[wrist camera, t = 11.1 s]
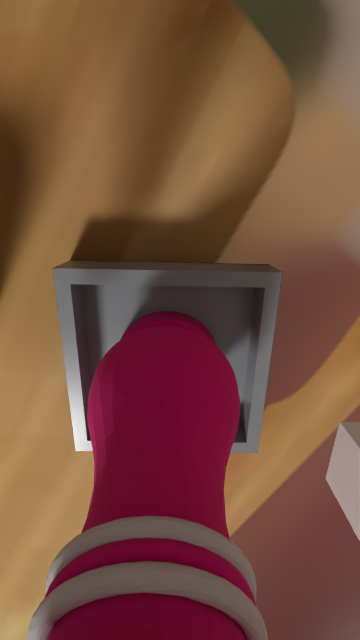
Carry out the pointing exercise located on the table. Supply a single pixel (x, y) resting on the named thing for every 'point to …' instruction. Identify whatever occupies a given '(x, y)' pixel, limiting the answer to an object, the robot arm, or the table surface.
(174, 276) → the tray
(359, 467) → the robot arm
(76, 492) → the table surface
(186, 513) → the pepper mill
